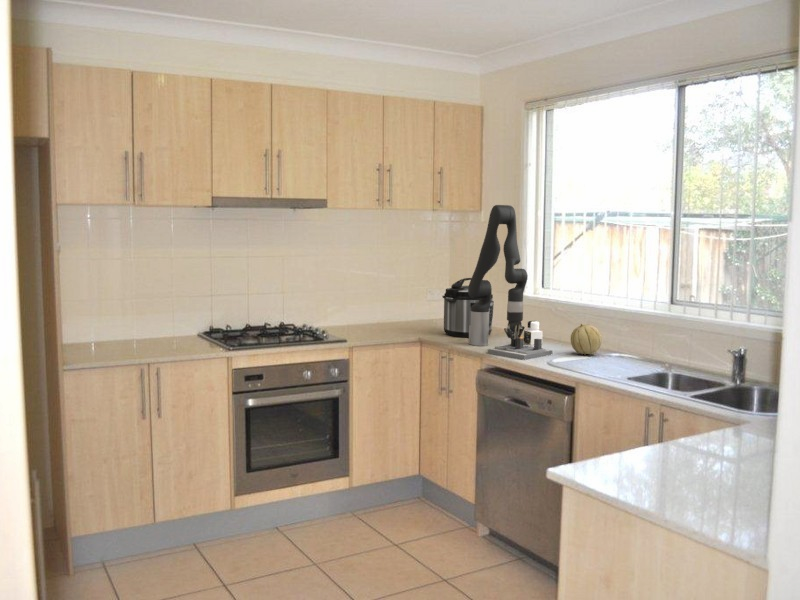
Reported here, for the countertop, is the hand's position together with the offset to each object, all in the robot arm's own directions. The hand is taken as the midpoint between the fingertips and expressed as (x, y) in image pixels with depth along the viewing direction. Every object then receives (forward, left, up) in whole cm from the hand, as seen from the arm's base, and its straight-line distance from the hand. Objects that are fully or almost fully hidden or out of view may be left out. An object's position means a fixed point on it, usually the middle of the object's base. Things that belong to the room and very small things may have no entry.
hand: (513, 346), depth 359 cm
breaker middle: (0, +4, -2) cm, 5 cm away
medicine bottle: (-14, +34, -4) cm, 37 cm away
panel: (0, +5, -4) cm, 6 cm away
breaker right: (+7, +9, -2) cm, 12 cm away
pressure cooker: (-56, +31, -4) cm, 64 cm away
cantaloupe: (+21, +29, -4) cm, 36 cm away
